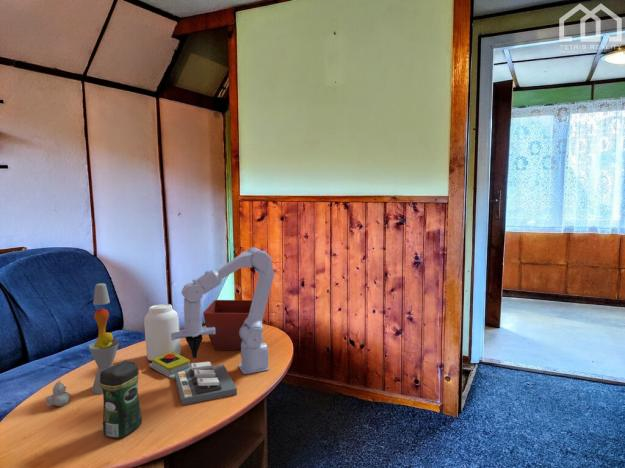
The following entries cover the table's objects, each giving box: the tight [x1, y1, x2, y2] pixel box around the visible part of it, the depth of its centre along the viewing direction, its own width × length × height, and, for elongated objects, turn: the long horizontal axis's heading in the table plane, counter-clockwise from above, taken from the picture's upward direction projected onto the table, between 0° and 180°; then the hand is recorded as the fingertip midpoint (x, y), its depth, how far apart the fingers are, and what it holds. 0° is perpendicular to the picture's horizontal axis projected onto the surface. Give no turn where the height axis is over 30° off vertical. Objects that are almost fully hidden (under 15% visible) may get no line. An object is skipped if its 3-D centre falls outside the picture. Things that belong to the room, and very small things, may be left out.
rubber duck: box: [45, 380, 71, 407], centre depth 129 cm, size 5×7×8 cm
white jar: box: [143, 303, 182, 362], centre depth 166 cm, size 12×12×20 cm
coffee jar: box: [100, 359, 143, 439], centre depth 116 cm, size 10×8×19 cm
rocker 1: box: [190, 361, 213, 371], centre depth 148 cm, size 6×4×1 cm, turn 114°
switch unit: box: [174, 364, 238, 406], centre depth 142 cm, size 17×20×4 cm
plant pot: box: [202, 299, 253, 351], centre depth 178 cm, size 19×19×17 cm
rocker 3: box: [197, 378, 219, 386], centre depth 136 cm, size 6×4×1 cm, turn 114°
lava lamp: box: [88, 283, 120, 395], centre depth 140 cm, size 9×9×35 cm
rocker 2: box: [194, 370, 215, 377], centre depth 142 cm, size 6×4×1 cm, turn 114°
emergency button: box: [149, 352, 192, 380], centre depth 155 cm, size 9×4×15 cm
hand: (194, 356), depth 147 cm, fingers closed
